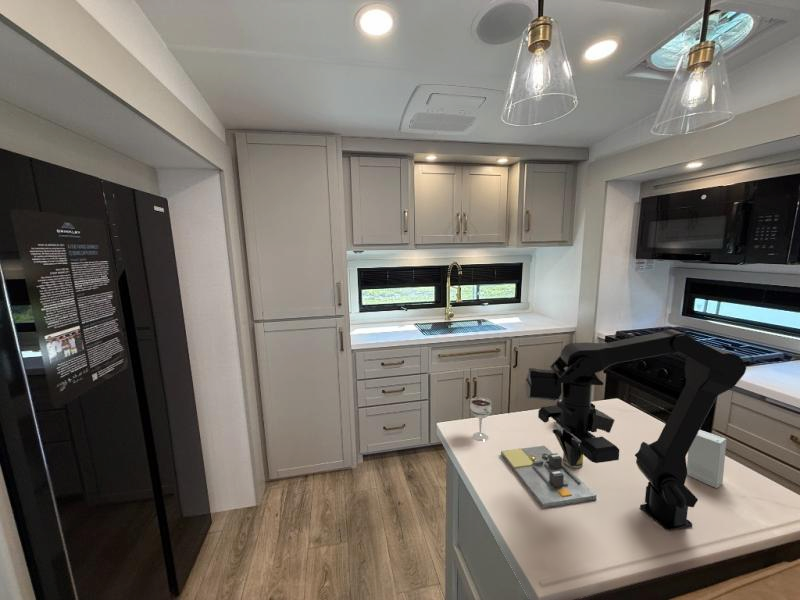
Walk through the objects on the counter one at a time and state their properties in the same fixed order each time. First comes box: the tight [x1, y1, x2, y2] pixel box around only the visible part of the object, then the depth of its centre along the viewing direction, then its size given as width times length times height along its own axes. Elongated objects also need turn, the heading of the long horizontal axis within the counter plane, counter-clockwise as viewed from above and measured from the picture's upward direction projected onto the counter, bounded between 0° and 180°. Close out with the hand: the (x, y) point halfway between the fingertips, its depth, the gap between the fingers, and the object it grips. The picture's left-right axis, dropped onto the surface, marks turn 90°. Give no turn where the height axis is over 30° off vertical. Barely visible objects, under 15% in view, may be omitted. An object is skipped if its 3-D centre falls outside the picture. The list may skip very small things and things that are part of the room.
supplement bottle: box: [562, 452, 584, 469], centre depth 86 cm, size 5×5×8 cm
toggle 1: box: [549, 452, 563, 469], centre depth 83 cm, size 2×2×3 cm
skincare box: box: [686, 429, 727, 489], centre depth 79 cm, size 6×4×12 cm
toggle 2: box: [549, 470, 564, 488], centre depth 77 cm, size 2×2×3 cm
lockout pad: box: [501, 448, 533, 468], centre depth 87 cm, size 7×6×1 cm
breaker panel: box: [500, 445, 597, 509], centre depth 82 cm, size 20×14×2 cm
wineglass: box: [469, 396, 492, 442], centre depth 99 cm, size 7×7×12 cm
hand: (572, 465), depth 71 cm, fingers closed
